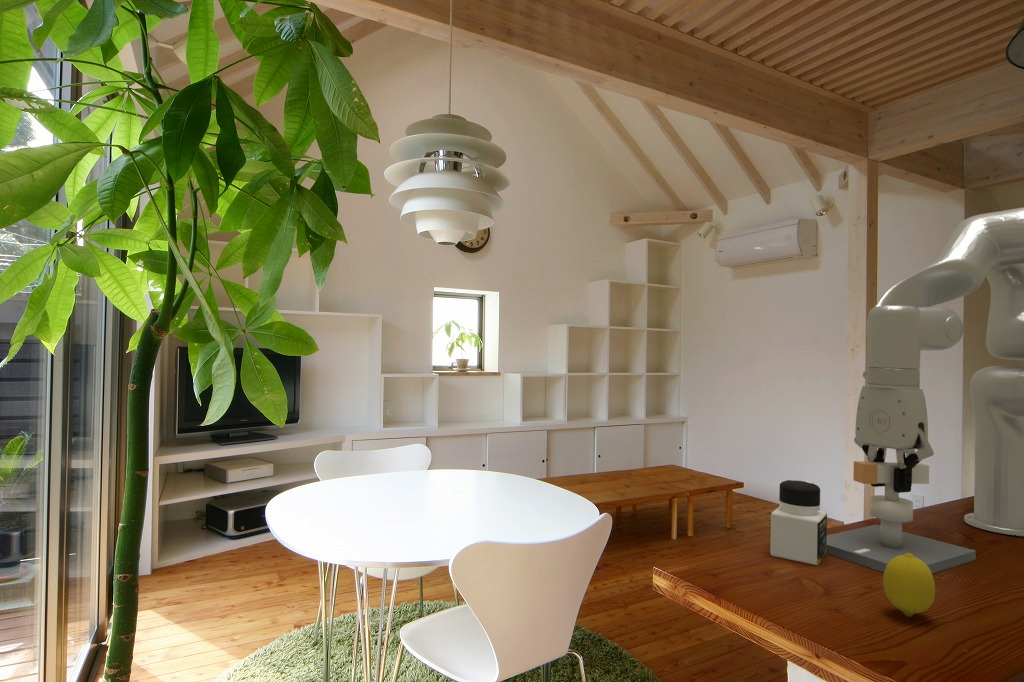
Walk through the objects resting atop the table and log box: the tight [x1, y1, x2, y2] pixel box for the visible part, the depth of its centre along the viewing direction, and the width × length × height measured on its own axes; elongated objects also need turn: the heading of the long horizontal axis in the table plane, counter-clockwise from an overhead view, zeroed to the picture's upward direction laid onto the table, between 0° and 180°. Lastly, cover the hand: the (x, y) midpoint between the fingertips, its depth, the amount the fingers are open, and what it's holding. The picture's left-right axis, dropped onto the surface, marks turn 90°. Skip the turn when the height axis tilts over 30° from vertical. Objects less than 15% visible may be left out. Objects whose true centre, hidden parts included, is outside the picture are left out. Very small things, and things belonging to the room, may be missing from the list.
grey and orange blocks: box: [852, 460, 930, 523], centre depth 100 cm, size 11×6×9 cm, turn 93°
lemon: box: [882, 553, 936, 617], centre depth 76 cm, size 6×6×8 cm
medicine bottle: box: [769, 479, 828, 566], centre depth 99 cm, size 7×7×12 cm
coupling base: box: [826, 519, 977, 574], centre depth 100 cm, size 20×16×6 cm
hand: (890, 487), depth 100 cm, fingers closed on grey and orange blocks, 3 cm apart
